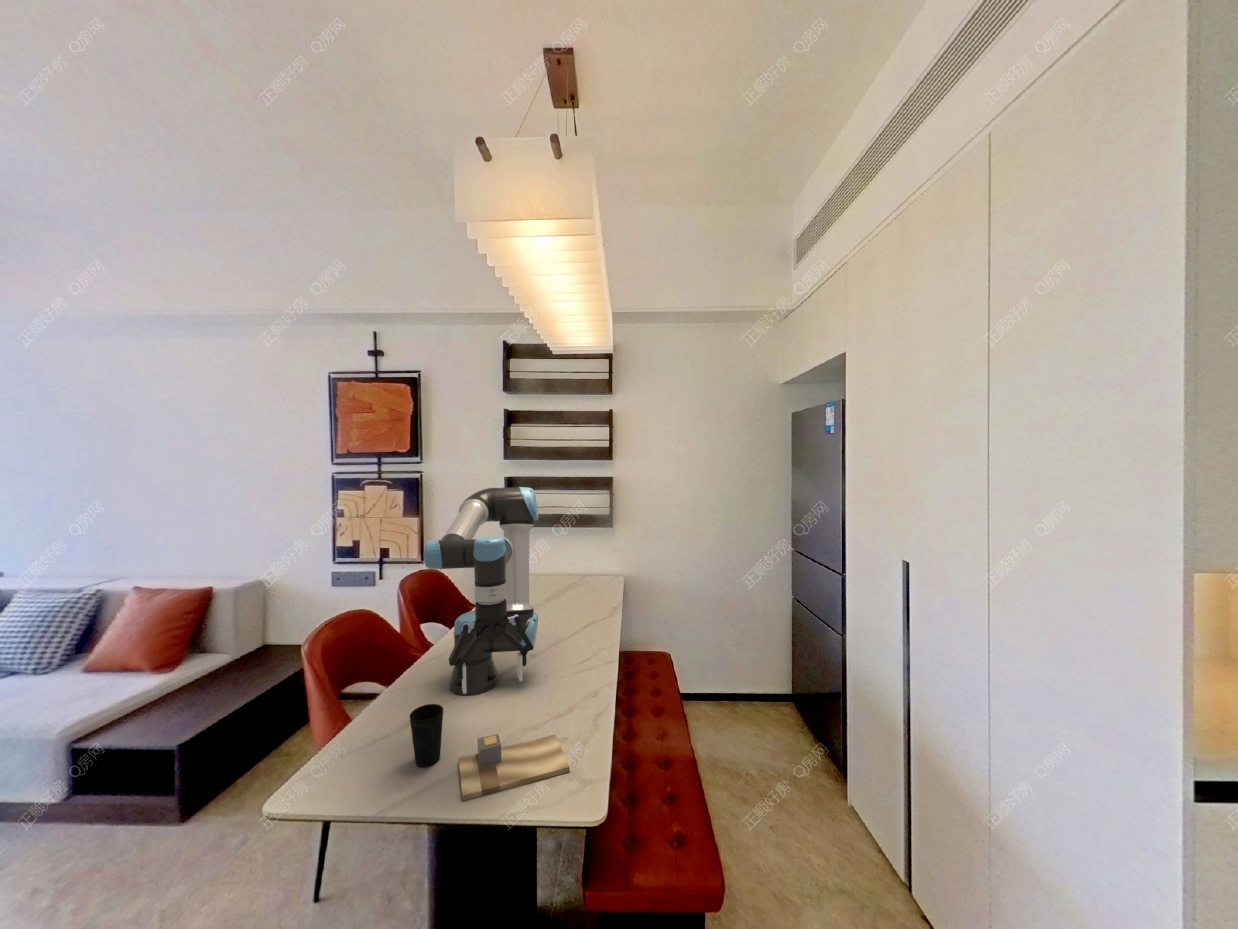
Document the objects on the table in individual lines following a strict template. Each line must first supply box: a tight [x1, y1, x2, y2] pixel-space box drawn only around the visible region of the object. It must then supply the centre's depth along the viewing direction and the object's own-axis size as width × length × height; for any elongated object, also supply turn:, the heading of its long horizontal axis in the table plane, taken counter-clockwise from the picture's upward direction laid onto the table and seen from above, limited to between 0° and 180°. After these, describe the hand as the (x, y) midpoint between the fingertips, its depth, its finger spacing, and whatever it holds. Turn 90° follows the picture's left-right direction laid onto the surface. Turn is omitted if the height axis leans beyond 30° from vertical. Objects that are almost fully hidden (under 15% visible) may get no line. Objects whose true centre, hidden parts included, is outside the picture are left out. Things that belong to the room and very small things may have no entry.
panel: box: [458, 733, 571, 802], centre depth 113 cm, size 14×24×1 cm, turn 112°
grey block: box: [476, 733, 502, 767], centre depth 115 cm, size 5×5×4 cm
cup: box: [409, 703, 444, 769], centre depth 116 cm, size 8×8×12 cm
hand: (492, 685), depth 117 cm, fingers open, 13 cm apart
